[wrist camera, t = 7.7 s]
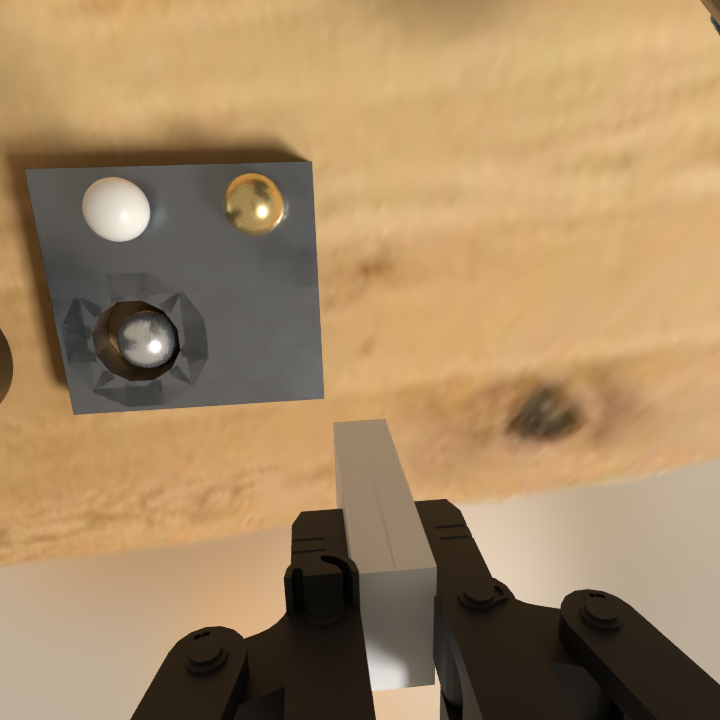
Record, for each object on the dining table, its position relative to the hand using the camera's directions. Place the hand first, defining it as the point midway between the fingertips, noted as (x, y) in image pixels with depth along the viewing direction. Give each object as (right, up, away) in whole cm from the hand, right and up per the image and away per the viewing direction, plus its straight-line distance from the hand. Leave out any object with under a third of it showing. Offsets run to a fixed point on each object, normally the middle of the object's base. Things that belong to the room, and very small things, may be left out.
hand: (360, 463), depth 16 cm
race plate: (-10, +7, +16) cm, 20 cm away
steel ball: (-12, +4, +15) cm, 20 cm away
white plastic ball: (-12, +10, +11) cm, 19 cm away
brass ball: (-5, +11, +11) cm, 16 cm away
